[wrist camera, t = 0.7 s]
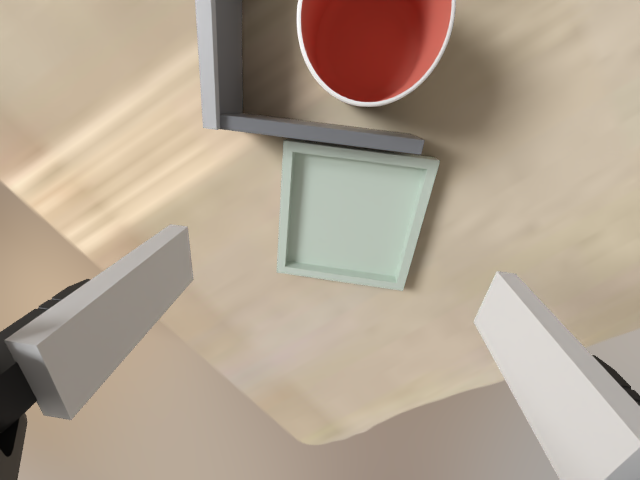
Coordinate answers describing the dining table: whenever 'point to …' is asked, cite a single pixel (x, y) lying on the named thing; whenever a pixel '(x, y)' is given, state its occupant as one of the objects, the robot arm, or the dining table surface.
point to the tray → (351, 212)
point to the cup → (373, 45)
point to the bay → (227, 90)
